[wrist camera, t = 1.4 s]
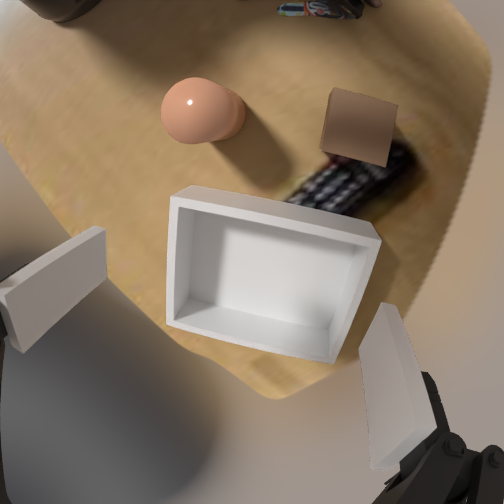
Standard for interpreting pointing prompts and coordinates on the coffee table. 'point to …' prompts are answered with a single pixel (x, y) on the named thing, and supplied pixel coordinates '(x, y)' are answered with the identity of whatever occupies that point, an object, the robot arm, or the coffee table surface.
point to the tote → (266, 272)
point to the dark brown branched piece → (327, 8)
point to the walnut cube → (358, 127)
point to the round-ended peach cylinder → (201, 112)
